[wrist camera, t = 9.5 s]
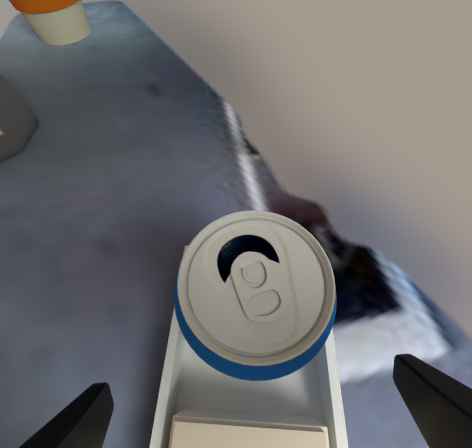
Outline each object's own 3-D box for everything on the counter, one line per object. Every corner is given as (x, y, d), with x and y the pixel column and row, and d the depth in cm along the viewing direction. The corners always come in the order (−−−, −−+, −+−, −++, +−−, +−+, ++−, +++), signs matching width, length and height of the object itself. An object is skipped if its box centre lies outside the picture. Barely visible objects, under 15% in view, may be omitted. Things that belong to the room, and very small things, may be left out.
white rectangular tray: (344, 556, 13) (368, 601, 11) (148, 537, 14) (126, 575, 11) (312, 264, 22) (322, 250, 20) (191, 259, 23) (185, 245, 20)
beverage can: (270, 274, 21) (295, 184, 11) (306, 353, 18) (390, 333, 8) (198, 301, 20) (149, 229, 10) (222, 390, 17) (190, 422, 7)
